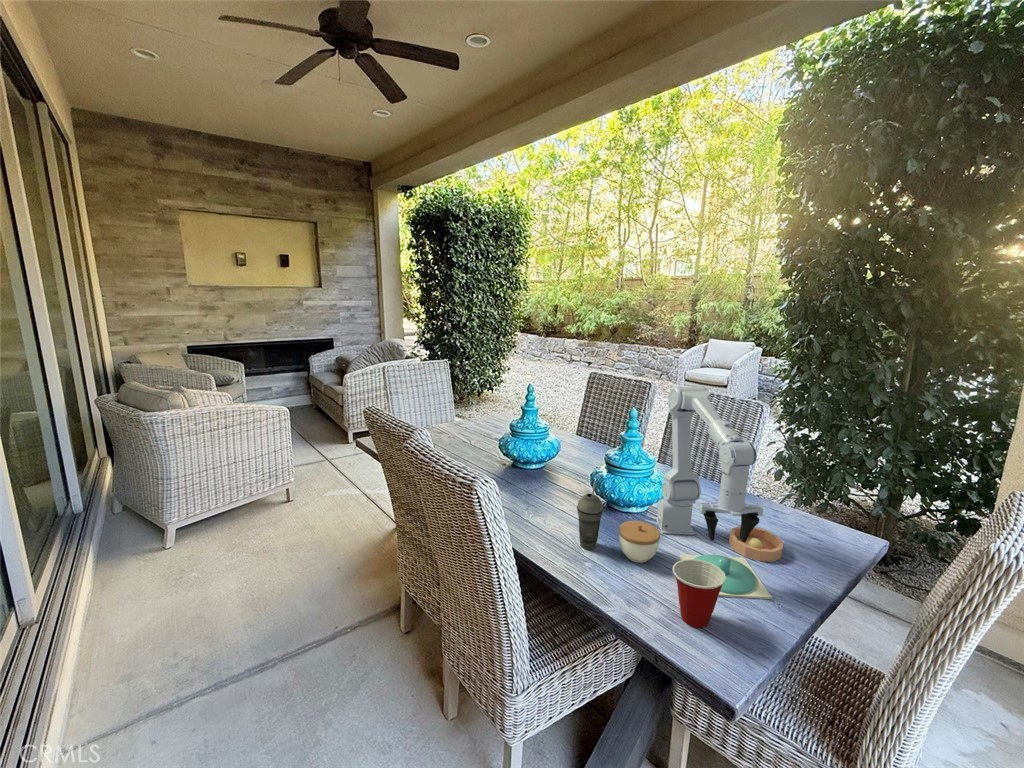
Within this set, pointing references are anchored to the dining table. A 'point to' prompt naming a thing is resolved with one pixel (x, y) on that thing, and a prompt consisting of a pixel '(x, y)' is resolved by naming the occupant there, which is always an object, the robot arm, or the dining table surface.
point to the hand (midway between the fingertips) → (726, 539)
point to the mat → (757, 592)
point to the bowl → (757, 544)
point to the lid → (732, 574)
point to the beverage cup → (589, 519)
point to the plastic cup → (697, 590)
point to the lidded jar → (638, 540)
